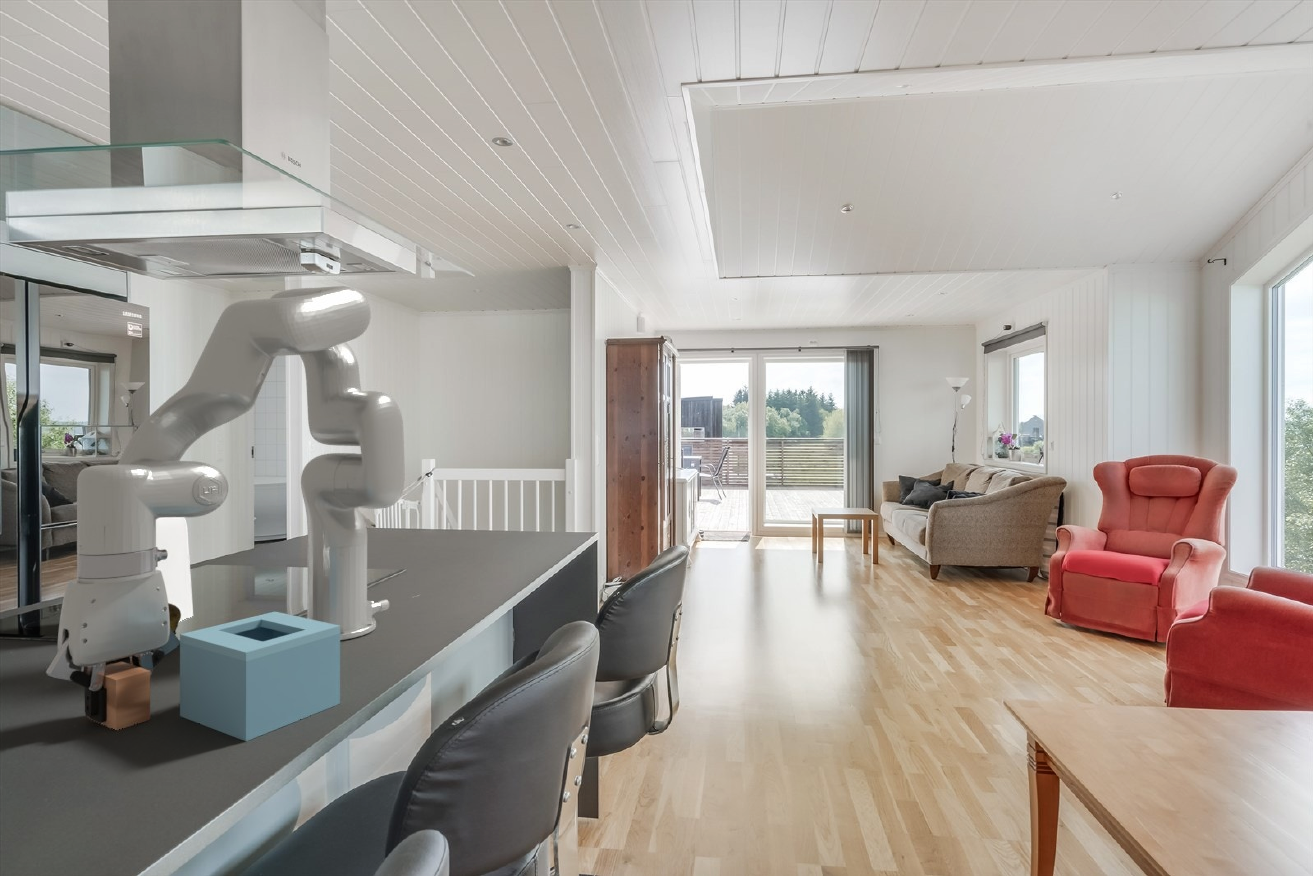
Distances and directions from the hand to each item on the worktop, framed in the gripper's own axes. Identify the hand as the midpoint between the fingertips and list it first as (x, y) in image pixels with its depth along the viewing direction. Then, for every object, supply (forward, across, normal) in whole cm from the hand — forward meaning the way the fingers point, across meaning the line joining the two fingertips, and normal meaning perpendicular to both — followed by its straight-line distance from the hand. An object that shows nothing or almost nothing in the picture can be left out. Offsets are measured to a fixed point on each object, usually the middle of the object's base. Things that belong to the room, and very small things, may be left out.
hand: (117, 712), depth 81 cm
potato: (+1, -12, -25) cm, 28 cm away
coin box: (+1, -10, +13) cm, 16 cm away
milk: (+1, -21, -43) cm, 48 cm away
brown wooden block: (+1, 0, 0) cm, 1 cm away
